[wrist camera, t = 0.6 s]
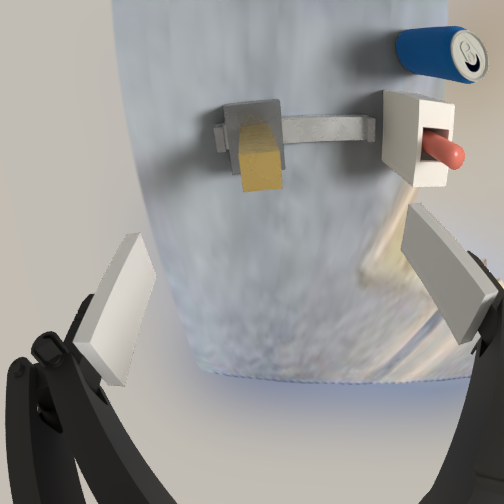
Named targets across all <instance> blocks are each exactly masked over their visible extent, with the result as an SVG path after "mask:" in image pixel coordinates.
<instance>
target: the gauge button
mask: <svg viewBox="0 0 504 504" xmlns="http://www.w3.org/2000/svg"><path fill="white" fill-rule="evenodd" d="M421 150H423V151H424V152H426V153H428V154H429V155H431V156H432V157H434V158H435V159H437V160H439V161H440V162H442V163H443V164H445V165H446V166H448V167H449V168H451V169H453V170H456V169H458V168H460V167H461V166H462V164H463V162H464V159H465V153H464V150H463V148H461V147H460V146H459V145H457V144H455V143H453V142H451V141H449V140H447V139H445V138H443V137H441V136H440V135H438V134H435V133H433V132H431V131H429V130H427V129H425V128H423V134H422V147H421Z"/></svg>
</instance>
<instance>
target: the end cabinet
mask: <svg viewBox="0 0 504 504" xmlns="http://www.w3.org/2000/svg"><path fill="white" fill-rule="evenodd" d="M454 106H455V105H454V104H450V103H447V102H445V101H441V100H438V99H435V98H431V97H428V96H424V95H421V94H417V93H411V92H402V91H392V90H383V140H382V160H381V161H383V162H384V163H385V164H386V165H388V166H389V167H390V168H391V169H392V170H394V171H395V172H396V173H397V174H398V175H400V176H401V177H402V178H403V179H404V180H405V181H407V182H408V183H409V184H410V185H411V186H412V187H427V186H446V181H447V175H448V169H449V167H448V166H446V165H445V164H443V163H442V162H440V161H439V160H437V159H435V158H434V157H432V156H431V155H429V154H428V153H426V152H424V151H423V150H421V147H422V134H423V128H425V129H427V130H429V131H431V132H433V133H435V134H438V135H440V136H441V137H443V138H445V139H447V140H449V141H451V142H452V135H453V123H454Z"/></svg>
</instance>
